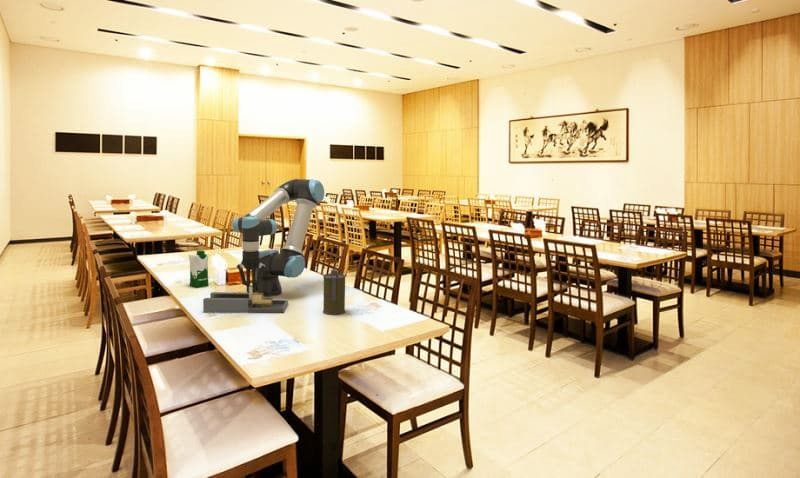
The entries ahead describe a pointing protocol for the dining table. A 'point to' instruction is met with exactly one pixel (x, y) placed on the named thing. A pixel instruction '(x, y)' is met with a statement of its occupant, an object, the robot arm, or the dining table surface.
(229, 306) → the slot plate
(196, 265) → the milk carton
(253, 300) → the brass block
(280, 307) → the tray
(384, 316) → the dining table surface
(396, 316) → the dining table surface
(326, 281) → the canister
